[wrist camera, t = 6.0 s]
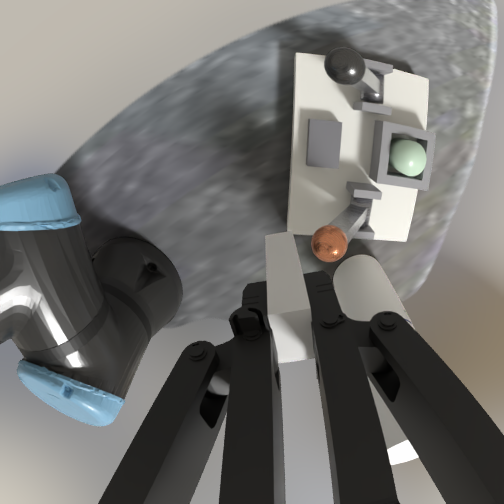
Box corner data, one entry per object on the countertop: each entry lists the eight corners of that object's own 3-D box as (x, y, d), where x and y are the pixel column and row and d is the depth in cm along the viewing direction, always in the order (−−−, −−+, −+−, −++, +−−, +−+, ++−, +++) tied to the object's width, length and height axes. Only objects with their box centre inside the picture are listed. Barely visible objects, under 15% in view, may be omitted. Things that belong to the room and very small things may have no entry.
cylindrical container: (351, 246, 34) (423, 426, 12) (391, 266, 35) (469, 425, 13) (323, 287, 38) (354, 466, 16) (362, 304, 39) (409, 463, 17)
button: (383, 167, 26) (394, 173, 24) (386, 135, 25) (398, 138, 22) (411, 172, 26) (423, 178, 24) (415, 140, 25) (428, 144, 22)
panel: (286, 225, 34) (288, 247, 29) (294, 57, 24) (298, 45, 19) (398, 233, 33) (416, 254, 28) (418, 80, 23) (443, 77, 18)
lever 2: (348, 216, 30) (303, 263, 21) (352, 191, 29) (307, 226, 20) (372, 222, 29) (337, 274, 20) (376, 196, 27) (344, 236, 18)
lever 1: (360, 101, 24) (317, 82, 15) (361, 74, 23) (317, 40, 13) (386, 105, 23) (360, 85, 13) (387, 78, 21) (360, 41, 12)
